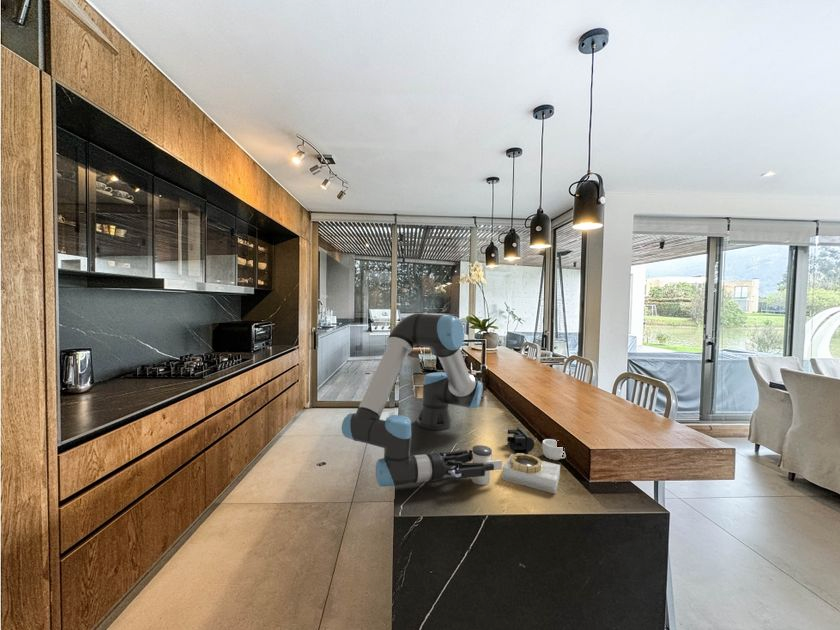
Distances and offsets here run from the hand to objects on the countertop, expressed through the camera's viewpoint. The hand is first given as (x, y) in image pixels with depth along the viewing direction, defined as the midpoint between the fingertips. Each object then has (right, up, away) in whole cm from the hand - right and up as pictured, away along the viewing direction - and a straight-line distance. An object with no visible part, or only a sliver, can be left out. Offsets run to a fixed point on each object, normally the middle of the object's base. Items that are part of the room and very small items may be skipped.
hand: (495, 459), depth 116 cm
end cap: (+14, -6, +25) cm, 29 cm away
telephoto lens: (-5, -6, -1) cm, 8 cm away
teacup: (+25, -7, +17) cm, 31 cm away
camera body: (+12, -7, +1) cm, 14 cm away
